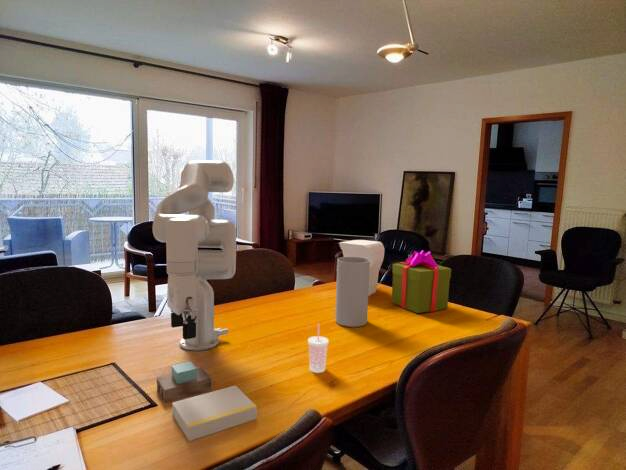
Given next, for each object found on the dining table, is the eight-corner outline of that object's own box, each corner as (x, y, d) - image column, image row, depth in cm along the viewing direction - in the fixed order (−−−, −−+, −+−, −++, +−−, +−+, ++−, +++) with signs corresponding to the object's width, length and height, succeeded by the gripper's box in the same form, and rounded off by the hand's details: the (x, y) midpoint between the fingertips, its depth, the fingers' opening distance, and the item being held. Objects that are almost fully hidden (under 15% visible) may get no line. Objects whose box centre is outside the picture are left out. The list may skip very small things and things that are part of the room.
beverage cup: (320, 375, 122) (322, 328, 120) (303, 370, 125) (304, 324, 123) (331, 367, 127) (333, 322, 125) (314, 362, 130) (315, 318, 128)
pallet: (201, 379, 118) (201, 367, 118) (211, 391, 112) (211, 378, 111) (156, 390, 111) (156, 377, 111) (165, 403, 105) (164, 389, 105)
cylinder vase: (330, 324, 164) (332, 261, 161) (340, 315, 176) (343, 255, 172) (362, 329, 159) (365, 264, 156) (370, 319, 171) (373, 258, 168)
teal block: (190, 371, 115) (190, 361, 114) (196, 379, 110) (196, 368, 110) (171, 376, 112) (171, 365, 111) (177, 384, 108) (177, 373, 107)
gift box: (414, 297, 205) (417, 245, 202) (452, 308, 189) (456, 252, 186) (385, 304, 192) (388, 249, 189) (424, 317, 176) (428, 257, 173)
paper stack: (329, 293, 209) (331, 241, 205) (364, 284, 227) (366, 236, 224) (363, 303, 194) (366, 247, 190) (397, 292, 213) (400, 242, 209)
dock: (235, 396, 109) (235, 384, 109) (256, 418, 99) (256, 406, 99) (172, 414, 100) (172, 402, 100) (189, 441, 90) (188, 427, 90)
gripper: (157, 262, 112) (159, 324, 114) (177, 275, 98) (178, 346, 100) (186, 259, 116) (187, 320, 118) (209, 271, 102) (209, 340, 104)
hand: (183, 332), depth 109 cm, fingers open, 9 cm apart
